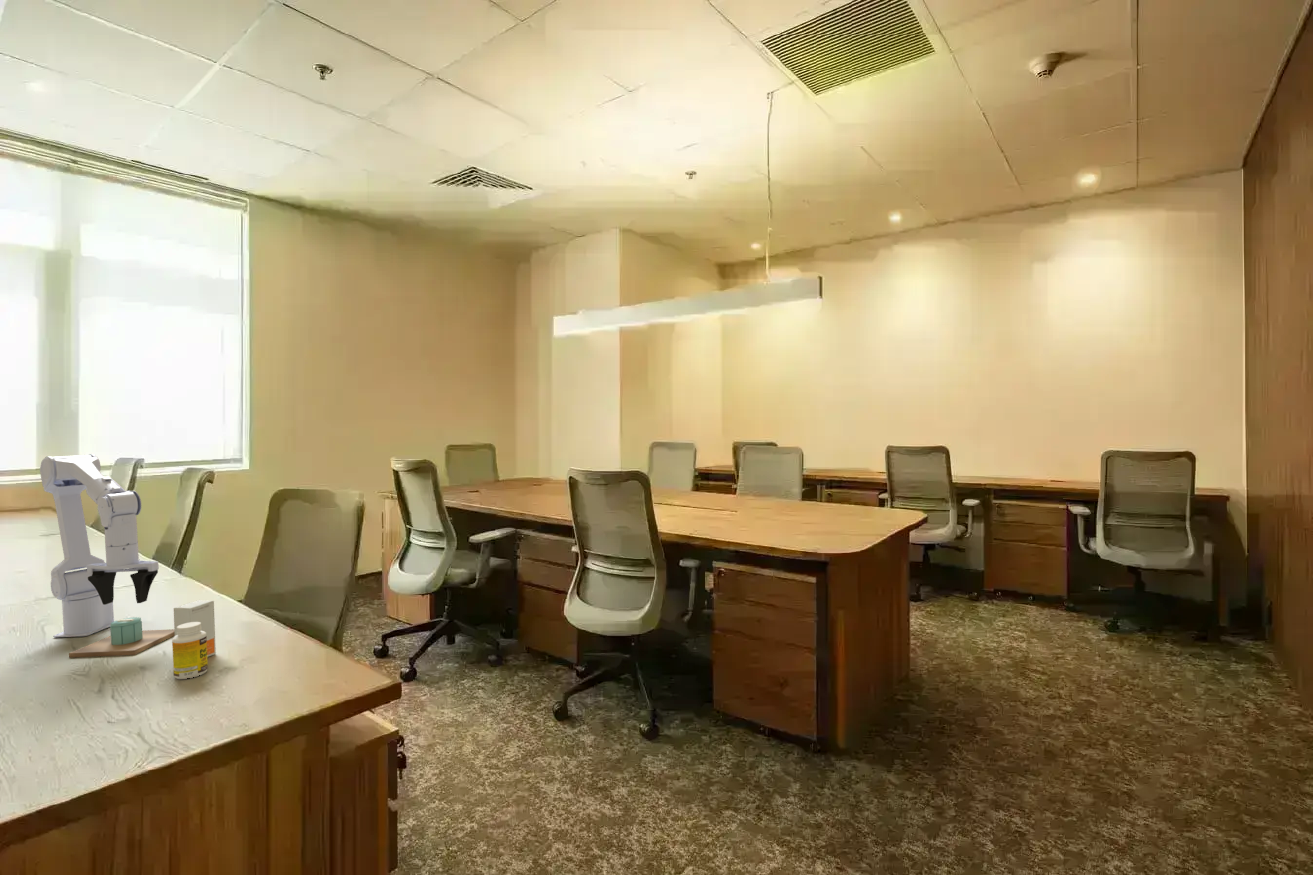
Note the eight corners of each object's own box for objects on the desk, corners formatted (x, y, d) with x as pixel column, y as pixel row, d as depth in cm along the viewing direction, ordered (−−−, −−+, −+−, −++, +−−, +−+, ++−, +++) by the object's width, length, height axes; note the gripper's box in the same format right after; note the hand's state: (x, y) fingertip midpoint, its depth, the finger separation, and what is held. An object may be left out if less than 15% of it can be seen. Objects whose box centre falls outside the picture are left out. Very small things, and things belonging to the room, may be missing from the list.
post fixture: (120, 635, 151) (119, 619, 151) (180, 632, 152) (179, 616, 152) (69, 657, 137) (68, 639, 137) (134, 654, 138) (133, 636, 138)
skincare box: (191, 664, 131) (188, 608, 131) (175, 663, 132) (172, 607, 132) (217, 653, 137) (214, 600, 137) (201, 652, 138) (198, 599, 138)
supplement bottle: (205, 676, 125) (202, 626, 124) (170, 682, 122) (168, 631, 122) (210, 667, 130) (208, 618, 129) (177, 672, 127) (175, 623, 127)
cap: (105, 645, 142) (103, 623, 141) (124, 636, 147) (123, 616, 147) (129, 644, 142) (128, 623, 142) (148, 635, 147) (146, 615, 147)
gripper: (167, 539, 148) (170, 596, 149) (103, 542, 147) (107, 598, 148) (143, 546, 141) (147, 605, 141) (77, 548, 140) (80, 607, 141)
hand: (125, 602), depth 144 cm, fingers open, 7 cm apart
